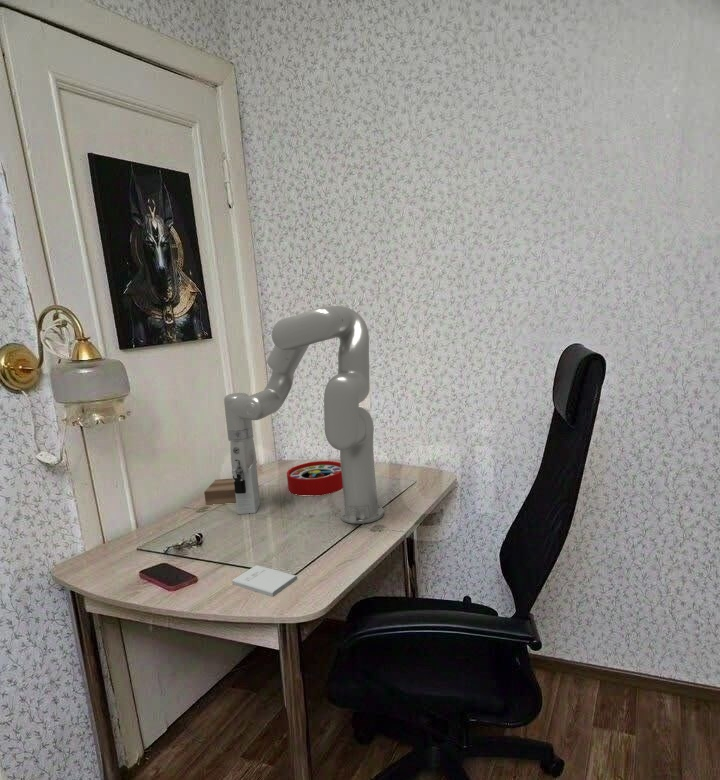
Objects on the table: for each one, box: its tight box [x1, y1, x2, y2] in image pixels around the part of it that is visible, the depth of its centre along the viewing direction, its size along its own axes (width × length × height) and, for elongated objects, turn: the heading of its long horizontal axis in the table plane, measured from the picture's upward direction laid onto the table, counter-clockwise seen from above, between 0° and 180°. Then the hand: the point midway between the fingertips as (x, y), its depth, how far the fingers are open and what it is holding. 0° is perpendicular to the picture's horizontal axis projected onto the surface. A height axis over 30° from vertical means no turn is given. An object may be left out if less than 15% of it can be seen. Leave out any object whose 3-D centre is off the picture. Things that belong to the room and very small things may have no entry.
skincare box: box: [235, 463, 261, 515], centre depth 167 cm, size 8×6×15 cm
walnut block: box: [203, 477, 236, 506], centre depth 180 cm, size 12×12×5 cm
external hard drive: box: [231, 564, 298, 598], centre depth 122 cm, size 2×8×12 cm
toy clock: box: [286, 460, 343, 496], centre depth 184 cm, size 20×6×20 cm
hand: (246, 487), depth 167 cm, fingers open, 9 cm apart
